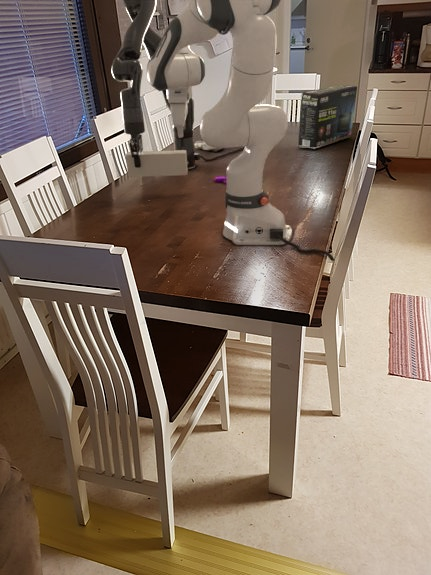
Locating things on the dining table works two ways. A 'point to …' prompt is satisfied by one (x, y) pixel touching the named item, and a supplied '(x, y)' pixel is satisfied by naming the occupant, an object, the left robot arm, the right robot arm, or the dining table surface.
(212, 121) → the right robot arm
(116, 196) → the dining table surface
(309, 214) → the dining table surface
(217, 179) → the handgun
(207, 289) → the dining table surface
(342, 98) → the router box
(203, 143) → the fossil
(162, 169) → the bar
